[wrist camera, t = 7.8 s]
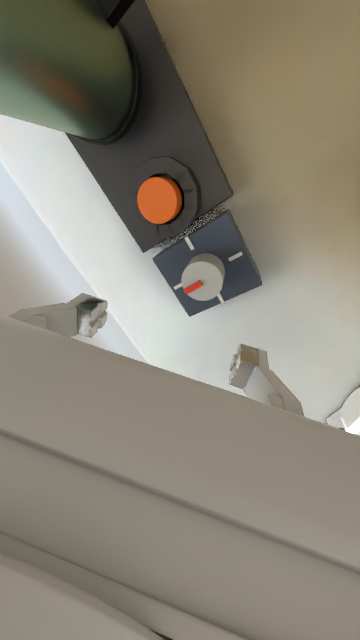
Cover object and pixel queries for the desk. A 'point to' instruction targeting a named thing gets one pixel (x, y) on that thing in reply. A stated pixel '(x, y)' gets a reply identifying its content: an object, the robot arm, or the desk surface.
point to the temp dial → (203, 277)
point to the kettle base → (157, 144)
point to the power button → (159, 199)
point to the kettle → (70, 67)
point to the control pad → (222, 243)
